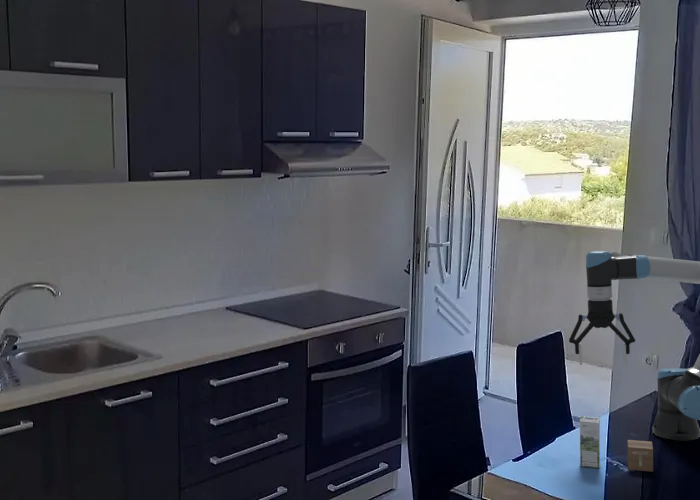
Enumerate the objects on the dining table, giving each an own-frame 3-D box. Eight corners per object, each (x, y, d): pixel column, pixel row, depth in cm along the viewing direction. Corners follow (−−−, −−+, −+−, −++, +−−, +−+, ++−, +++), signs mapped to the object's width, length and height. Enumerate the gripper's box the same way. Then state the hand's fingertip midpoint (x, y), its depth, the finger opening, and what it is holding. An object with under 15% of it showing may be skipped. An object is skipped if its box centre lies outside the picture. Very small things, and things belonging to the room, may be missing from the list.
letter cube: (627, 461, 229) (627, 439, 228) (652, 464, 226) (651, 441, 226) (628, 470, 222) (627, 447, 222) (653, 472, 220) (653, 449, 219)
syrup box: (600, 462, 229) (599, 416, 228) (599, 469, 223) (599, 422, 222) (580, 460, 231) (580, 415, 230) (579, 467, 225) (579, 420, 224)
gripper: (559, 301, 237) (562, 366, 239) (642, 299, 230) (644, 366, 231) (560, 298, 245) (562, 361, 246) (640, 296, 237) (642, 361, 238)
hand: (602, 364), depth 239 cm, fingers open, 13 cm apart
